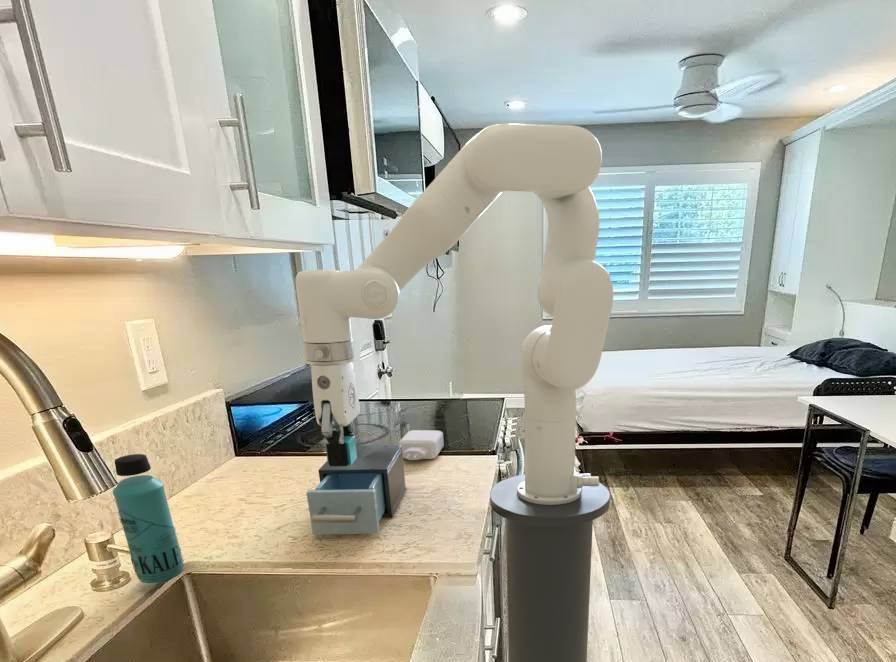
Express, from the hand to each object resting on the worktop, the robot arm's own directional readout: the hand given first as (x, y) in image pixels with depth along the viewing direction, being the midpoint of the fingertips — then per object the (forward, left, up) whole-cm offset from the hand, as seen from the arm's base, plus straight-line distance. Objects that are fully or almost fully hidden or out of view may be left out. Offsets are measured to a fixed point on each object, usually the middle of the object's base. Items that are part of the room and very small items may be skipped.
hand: (342, 460), depth 98 cm
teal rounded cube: (0, 0, 0) cm, 0 cm away
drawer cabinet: (0, -12, -13) cm, 17 cm away
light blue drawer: (0, 0, -12) cm, 12 cm away
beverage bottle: (+24, +18, -13) cm, 33 cm away
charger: (-6, -40, -13) cm, 42 cm away
